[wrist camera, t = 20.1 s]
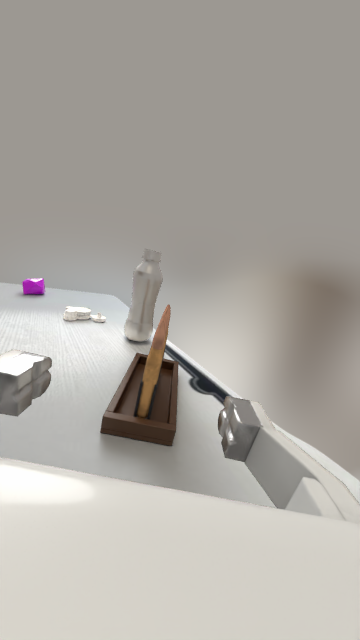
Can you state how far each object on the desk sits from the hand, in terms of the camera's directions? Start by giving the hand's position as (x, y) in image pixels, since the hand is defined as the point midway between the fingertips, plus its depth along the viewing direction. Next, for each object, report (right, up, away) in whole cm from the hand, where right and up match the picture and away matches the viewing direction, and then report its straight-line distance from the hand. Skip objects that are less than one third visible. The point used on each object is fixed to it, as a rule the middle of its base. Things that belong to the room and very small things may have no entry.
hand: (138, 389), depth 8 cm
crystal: (-44, +11, +49) cm, 67 cm away
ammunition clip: (-3, -7, +17) cm, 19 cm away
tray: (-3, -7, +18) cm, 19 cm away
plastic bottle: (-8, -1, +35) cm, 36 cm away
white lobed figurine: (-24, +3, +39) cm, 46 cm away
